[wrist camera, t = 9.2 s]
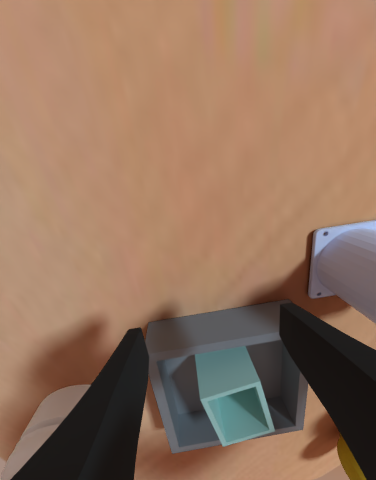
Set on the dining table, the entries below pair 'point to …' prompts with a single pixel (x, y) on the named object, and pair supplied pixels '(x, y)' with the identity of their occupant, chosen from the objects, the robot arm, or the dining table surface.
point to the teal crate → (232, 395)
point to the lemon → (349, 461)
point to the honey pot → (43, 426)
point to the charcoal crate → (214, 339)
